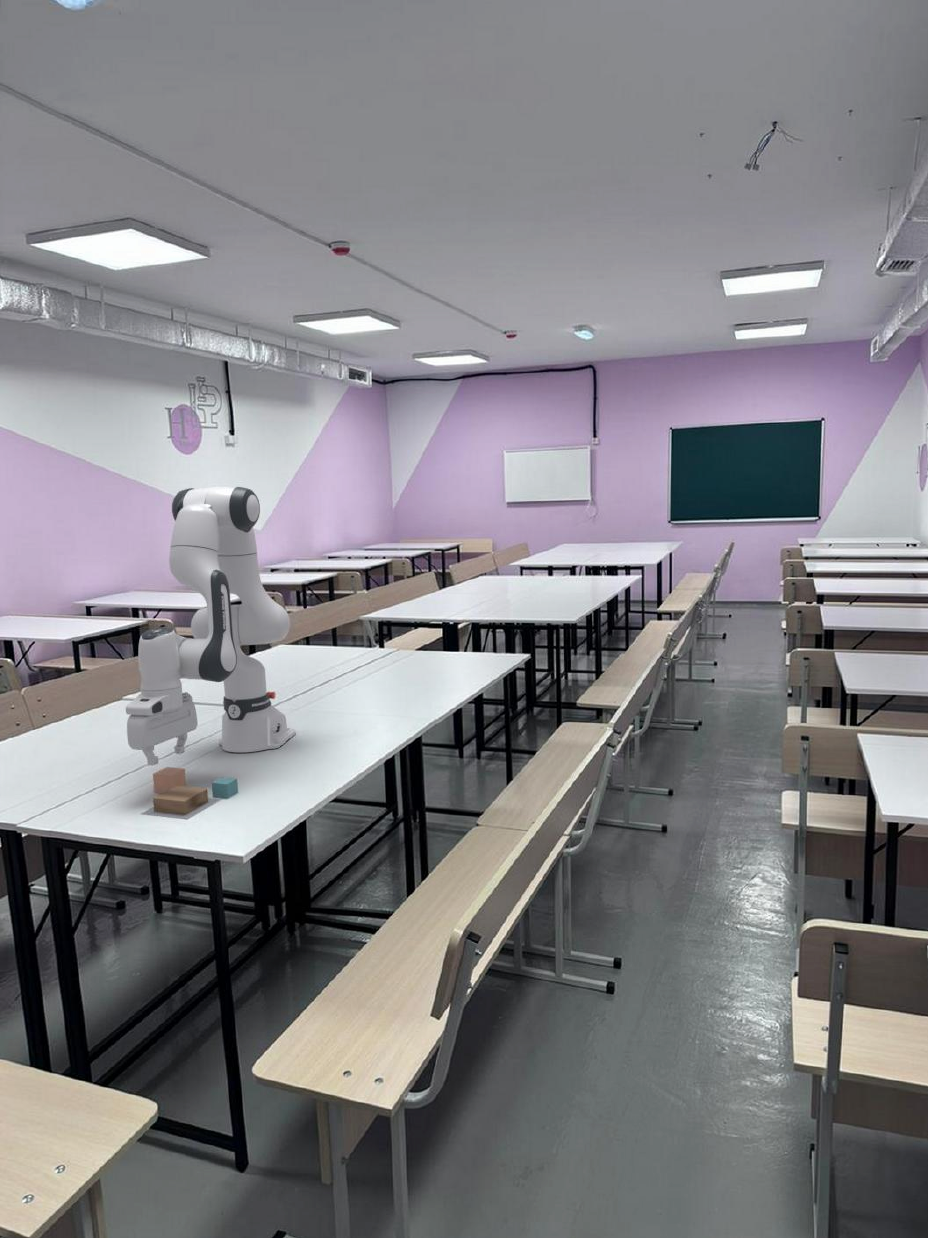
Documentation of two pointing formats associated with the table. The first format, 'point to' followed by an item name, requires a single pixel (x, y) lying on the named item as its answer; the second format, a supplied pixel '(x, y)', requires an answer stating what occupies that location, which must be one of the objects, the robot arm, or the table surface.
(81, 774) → the table surface
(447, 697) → the table surface
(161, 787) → the terracotta cube
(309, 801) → the table surface
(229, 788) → the teal cube
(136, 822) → the table surface
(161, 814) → the mat
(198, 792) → the base brick
